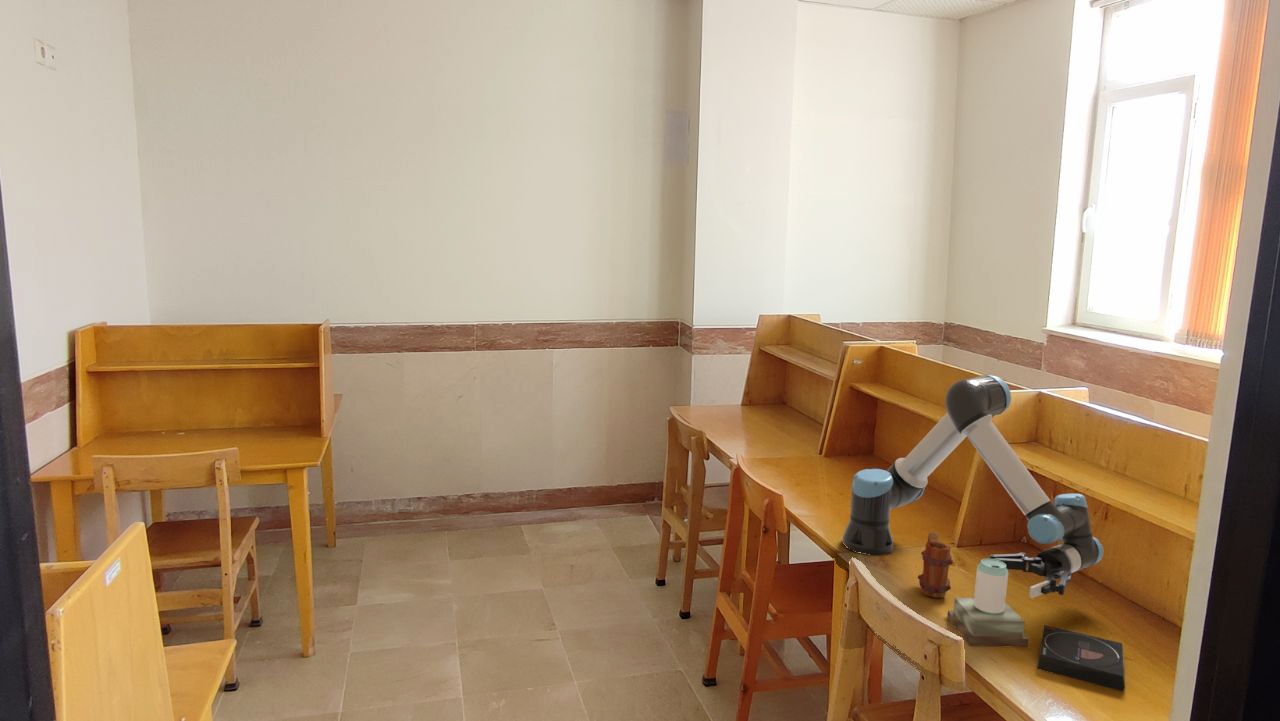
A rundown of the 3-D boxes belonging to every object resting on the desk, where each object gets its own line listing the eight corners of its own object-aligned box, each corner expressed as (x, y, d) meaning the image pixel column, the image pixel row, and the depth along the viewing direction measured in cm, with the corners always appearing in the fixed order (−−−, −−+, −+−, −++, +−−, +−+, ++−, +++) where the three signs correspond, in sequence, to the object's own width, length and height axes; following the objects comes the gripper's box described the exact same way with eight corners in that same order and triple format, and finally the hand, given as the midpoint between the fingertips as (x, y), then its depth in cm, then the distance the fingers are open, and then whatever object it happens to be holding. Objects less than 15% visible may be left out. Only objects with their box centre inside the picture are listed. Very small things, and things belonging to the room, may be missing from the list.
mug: (951, 603, 217) (957, 550, 215) (919, 600, 219) (924, 546, 216) (943, 580, 232) (948, 529, 229) (913, 577, 233) (917, 526, 231)
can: (1010, 611, 201) (1015, 565, 199) (992, 618, 197) (997, 571, 195) (984, 600, 207) (989, 555, 205) (967, 606, 203) (971, 560, 201)
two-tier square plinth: (947, 617, 210) (949, 595, 209) (1001, 618, 210) (1003, 596, 209) (970, 645, 196) (972, 622, 195) (1028, 646, 196) (1030, 623, 195)
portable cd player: (1124, 693, 178) (1126, 676, 178) (1037, 670, 187) (1039, 654, 186) (1122, 659, 192) (1125, 644, 192) (1042, 639, 201) (1044, 624, 200)
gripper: (1103, 594, 203) (1051, 617, 193) (1013, 557, 224) (962, 576, 214) (1106, 566, 202) (1054, 587, 191) (1015, 531, 223) (964, 549, 212)
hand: (1005, 581), depth 202 cm, fingers open, 13 cm apart
